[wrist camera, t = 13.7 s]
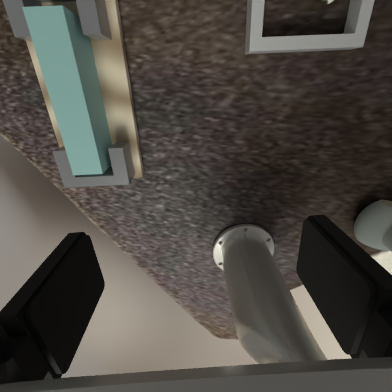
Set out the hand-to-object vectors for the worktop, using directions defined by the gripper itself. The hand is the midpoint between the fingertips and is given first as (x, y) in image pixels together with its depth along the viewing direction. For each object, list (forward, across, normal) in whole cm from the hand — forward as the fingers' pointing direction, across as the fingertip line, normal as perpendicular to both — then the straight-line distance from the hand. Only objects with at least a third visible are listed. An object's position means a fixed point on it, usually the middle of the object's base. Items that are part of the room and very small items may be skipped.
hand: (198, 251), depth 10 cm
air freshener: (+30, -35, +18) cm, 50 cm away
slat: (+27, +14, -7) cm, 31 cm away
